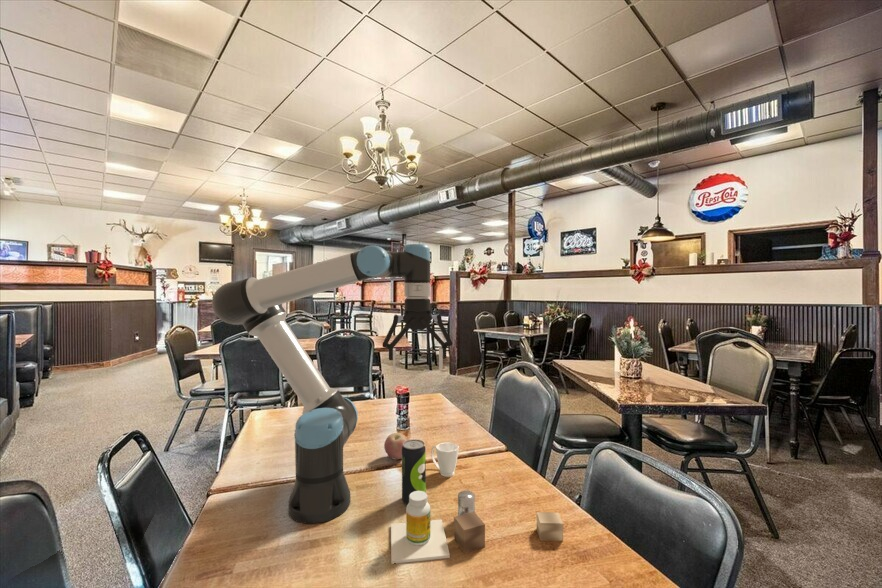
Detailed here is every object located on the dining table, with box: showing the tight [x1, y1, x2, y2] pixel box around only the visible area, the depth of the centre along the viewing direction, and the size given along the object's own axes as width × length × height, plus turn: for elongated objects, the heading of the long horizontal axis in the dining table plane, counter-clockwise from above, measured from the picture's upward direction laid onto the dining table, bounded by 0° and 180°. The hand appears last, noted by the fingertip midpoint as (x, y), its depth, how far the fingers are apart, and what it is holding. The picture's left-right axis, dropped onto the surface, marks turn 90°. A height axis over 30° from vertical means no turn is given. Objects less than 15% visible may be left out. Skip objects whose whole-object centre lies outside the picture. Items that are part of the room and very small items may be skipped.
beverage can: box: [401, 438, 427, 506], centre depth 98 cm, size 6×6×15 cm
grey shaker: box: [457, 490, 476, 516], centre depth 90 cm, size 4×4×6 cm
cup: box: [430, 441, 460, 478], centre depth 113 cm, size 7×10×8 cm
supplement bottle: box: [405, 491, 432, 546], centre depth 82 cm, size 5×5×10 cm
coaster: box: [390, 519, 451, 565], centre depth 82 cm, size 12×12×1 cm
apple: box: [383, 432, 409, 460], centre depth 122 cm, size 8×8×8 cm
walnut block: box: [453, 511, 486, 554], centre depth 82 cm, size 5×5×5 cm
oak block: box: [536, 511, 564, 542], centre depth 84 cm, size 5×4×4 cm
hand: (417, 370), depth 109 cm, fingers open, 13 cm apart
